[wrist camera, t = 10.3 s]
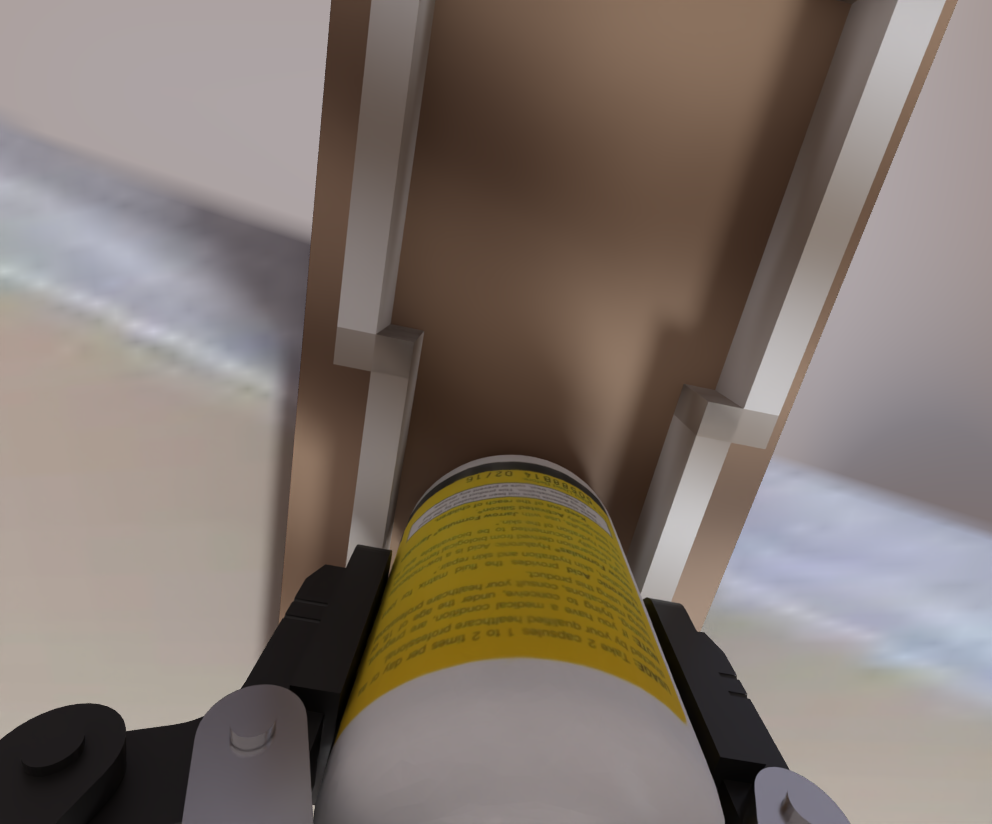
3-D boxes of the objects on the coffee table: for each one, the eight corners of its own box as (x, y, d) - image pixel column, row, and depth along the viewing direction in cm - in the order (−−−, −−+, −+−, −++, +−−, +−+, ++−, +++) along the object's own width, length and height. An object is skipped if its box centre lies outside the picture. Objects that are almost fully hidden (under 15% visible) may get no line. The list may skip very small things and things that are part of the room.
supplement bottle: (370, 490, 13) (4, 1177, 3) (574, 417, 12) (841, 1012, 3) (452, 651, 14) (364, 1424, 5) (637, 594, 14) (943, 1358, 4)
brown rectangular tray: (362, -154, 10) (319, -283, 7) (928, -7, 11) (1053, -82, 8) (283, 693, 17) (247, 768, 14) (632, 748, 17) (653, 828, 15)
